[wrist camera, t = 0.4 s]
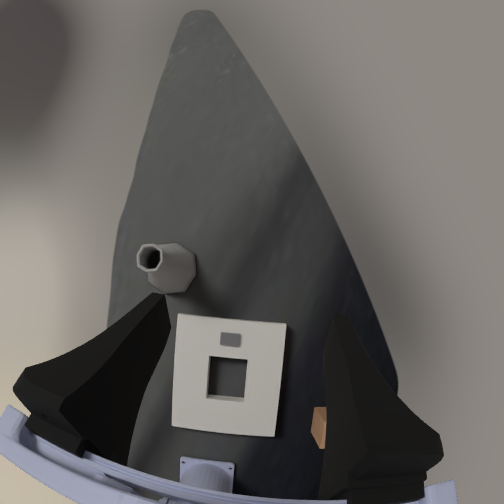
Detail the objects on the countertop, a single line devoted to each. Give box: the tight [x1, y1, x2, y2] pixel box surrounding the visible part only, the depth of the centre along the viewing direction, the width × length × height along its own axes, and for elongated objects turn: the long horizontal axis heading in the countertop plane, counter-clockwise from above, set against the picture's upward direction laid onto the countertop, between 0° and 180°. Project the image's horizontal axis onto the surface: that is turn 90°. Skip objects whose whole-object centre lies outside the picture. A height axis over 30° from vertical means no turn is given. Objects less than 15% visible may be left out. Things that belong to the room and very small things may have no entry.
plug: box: [311, 407, 326, 449], centre depth 35 cm, size 5×3×6 cm, turn 175°
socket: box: [172, 313, 286, 437], centre depth 38 cm, size 16×14×2 cm
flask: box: [137, 243, 196, 294], centre depth 36 cm, size 7×7×10 cm
